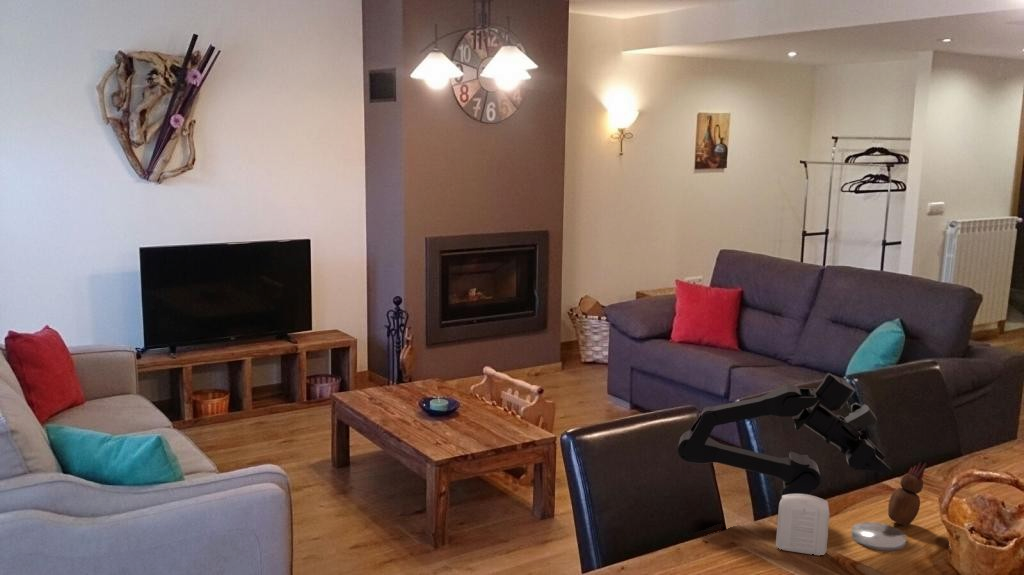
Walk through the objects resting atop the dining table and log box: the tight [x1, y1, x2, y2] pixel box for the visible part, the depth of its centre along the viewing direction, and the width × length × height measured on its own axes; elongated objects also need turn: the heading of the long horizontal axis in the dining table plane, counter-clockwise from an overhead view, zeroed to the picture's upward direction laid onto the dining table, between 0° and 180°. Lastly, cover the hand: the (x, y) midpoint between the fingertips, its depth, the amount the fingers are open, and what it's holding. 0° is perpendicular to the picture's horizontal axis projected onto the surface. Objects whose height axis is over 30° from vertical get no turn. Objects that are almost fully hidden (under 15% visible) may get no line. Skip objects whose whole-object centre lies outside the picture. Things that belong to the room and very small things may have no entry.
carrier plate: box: [851, 521, 907, 552], centre depth 197 cm, size 11×11×2 cm
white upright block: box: [775, 494, 830, 556], centre depth 190 cm, size 10×4×12 cm, turn 73°
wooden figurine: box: [887, 462, 927, 526], centre depth 203 cm, size 7×6×15 cm
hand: (887, 465), depth 201 cm, fingers open, 9 cm apart
